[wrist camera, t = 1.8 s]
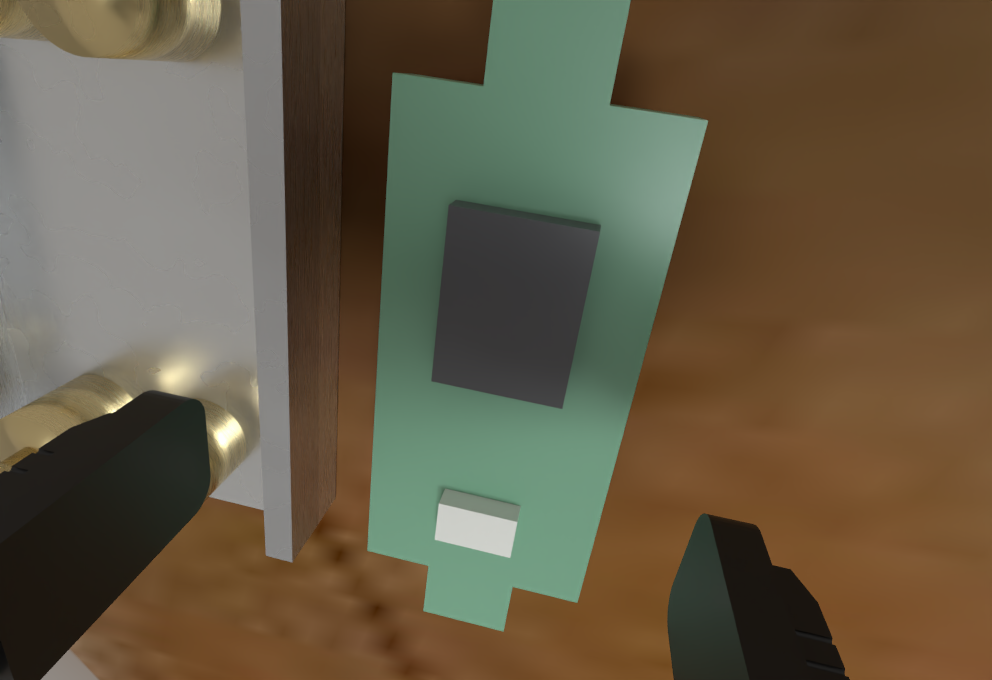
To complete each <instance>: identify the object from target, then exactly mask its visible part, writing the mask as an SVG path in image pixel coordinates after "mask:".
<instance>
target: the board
mask: <svg viewBox="0 0 992 680" xmlns="http://www.w3.org/2000/svg"><path fill="white" fill-rule="evenodd" d="M630 2H631V0H493V6H492V15H491V24H490V33H489V41H488V50H487V59H486V68H485V76H484V84H477V83H471V82H464V81H458V80H451V79H444V78H438V77H431V76H425V75H418V74H410V73H393V76H392V95H391V113H390V132H389V151H388V170H387V189H386V208H385V227H384V246H383V265H382V284H381V303H380V322H379V341H378V360H377V379H376V398H375V417H374V436H373V455H372V474H371V493H370V512H369V531H368V550H367V551H371V552H375V553H379V554H383V555H387V556H391V557H395V558H399V559H403V560H407V561H411V562H415V563H419V564H423V565H427V566H429V567H428V576H427V584H426V593H425V602H424V611H426V612H430V613H433V614H437V615H441V616H445V617H449V618H453V619H457V620H461V621H465V622H468V623H472V624H476V625H480V626H484V627H488V628H492V629H496V630H500V631H504V626H505V621H506V616H507V612H508V607H509V602H510V597H511V592H512V587H516V588H520V589H524V590H528V591H532V592H536V593H540V594H544V595H548V596H552V597H556V598H560V599H564V600H568V601H572V602H576V603H577V602H578V598H579V595H580V591H581V587H582V584H583V580H584V576H585V573H586V569H587V565H588V561H589V558H590V554H591V550H592V547H593V543H594V539H595V536H596V532H597V528H598V525H599V521H600V517H601V514H602V510H603V506H604V503H605V499H606V495H607V492H608V488H609V484H610V481H611V477H612V473H613V469H614V466H615V462H616V458H617V455H618V451H619V447H620V444H621V440H622V436H623V433H624V429H625V425H626V422H627V418H628V414H629V411H630V407H631V403H632V400H633V396H634V392H635V389H636V385H637V381H638V377H639V374H640V370H641V366H642V363H643V359H644V355H645V352H646V348H647V344H648V341H649V337H650V333H651V330H652V326H653V322H654V319H655V315H656V311H657V308H658V304H659V300H660V296H661V293H662V289H663V285H664V282H665V278H666V274H667V271H668V267H669V263H670V260H671V256H672V252H673V249H674V245H675V241H676V238H677V234H678V230H679V227H680V223H681V219H682V216H683V212H684V208H685V204H686V201H687V197H688V193H689V190H690V186H691V182H692V179H693V175H694V171H695V168H696V164H697V160H698V157H699V153H700V149H701V146H702V142H703V138H704V135H705V131H706V127H707V124H708V120H705V119H703V118H700V117H695V116H688V115H682V114H675V113H668V112H662V111H655V110H649V109H642V108H635V107H629V106H622V105H616V104H610V101H611V96H612V91H613V86H614V81H615V76H616V71H617V66H618V61H619V56H620V51H621V46H622V41H623V36H624V31H625V26H626V21H627V16H628V11H629V7H630Z"/></svg>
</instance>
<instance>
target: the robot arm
mask: <svg viewBox="0 0 992 680" xmlns="http://www.w3.org/2000/svg"><path fill="white" fill-rule="evenodd" d="M210 479H211V473H210V461H209V450H208V438H207V427H206V415H205V409H204V406H203V404H202V403H201V402H200V401H199V400H197V399H192V398H188V397H183V396H179V395H174V394H170V393H165V392H161V391H156V390H149V391H146V392H144V393H142V394H140V395H139V396H137V397H136V398H134V399H133V400H131V401H130V402H128V403H127V404H126V405H124V406H123V407H121V408H120V409H118V410H117V411H115V412H114V413H108V414H105V415H102V416H100V417H97V418H95V419H92V420H89V421H87V422H84V423H81V424H79V425H76V426H74V427H71V428H69V429H68V430H66V431H65V432H63V433H62V434H60V435H59V436H57V437H55V438H54V439H52V440H51V441H49V442H48V443H46V444H45V445H43V446H42V447H40V448H39V450H38V452H37V453H36V454H35V453H31V454H29V455H28V456H26V457H25V458H23V459H22V460H20V461H19V462H17V463H16V464H14V465H13V466H12V468H11V470H10V471H9V472H7V471H3V472H2V473H0V680H41V679H42V677H43V676H44V675H45V674H46V673H47V672H48V671H49V670H50V669H51V668H52V667H53V666H54V665H55V664H56V662H57V661H58V660H59V659H60V658H61V657H62V656H63V655H64V654H65V653H66V652H67V651H68V650H69V649H70V648H71V647H72V645H73V644H74V643H75V642H76V641H77V640H78V639H79V638H80V637H81V636H82V635H83V634H84V633H85V632H86V631H87V629H88V628H89V627H90V626H91V625H92V624H93V623H94V622H95V621H96V620H97V619H98V618H99V617H100V616H101V615H102V613H103V612H104V611H105V610H106V609H107V608H108V607H109V606H110V605H111V604H112V603H113V602H114V601H115V600H116V599H117V597H118V596H119V595H120V594H121V593H122V592H123V591H124V590H125V589H126V588H127V587H128V586H129V585H130V584H131V583H132V581H133V580H134V579H135V578H136V577H137V576H138V575H139V574H140V573H141V572H142V571H143V570H144V569H145V568H146V567H147V565H148V564H149V563H150V562H151V561H152V560H153V559H154V558H155V557H156V556H157V555H158V554H159V553H160V552H161V551H162V549H163V548H164V547H165V546H166V545H167V544H168V543H169V542H170V541H171V540H172V539H173V538H174V537H175V536H176V535H177V533H178V532H179V531H180V530H181V529H182V528H183V527H184V526H185V525H186V524H187V523H188V522H189V521H190V520H191V519H192V517H193V516H194V515H195V514H196V513H197V512H198V510H199V509H200V507H201V506H202V504H203V502H204V500H205V498H206V496H207V493H208V490H209V486H210ZM668 635H669V643H670V651H671V660H672V668H673V676H674V680H850V679H849V677H846V676H845V674H844V671H845V667H844V665H843V663H842V660H841V658H840V655H839V653H838V650H837V648H836V646H835V645H832V636H831V633H830V631H829V629H828V626H827V624H826V621H825V619H824V616H823V614H822V612H821V609H820V607H819V604H818V602H817V601H816V600H815V599H814V597H813V596H812V595H811V594H810V592H809V591H808V590H807V589H806V588H805V586H804V585H803V584H802V583H801V582H800V580H799V579H798V578H797V577H796V575H795V574H794V573H793V572H792V571H791V569H787V568H782V567H778V566H773V565H772V563H771V560H770V557H769V555H768V552H767V549H766V546H765V543H764V540H763V537H762V535H761V532H760V530H759V528H758V527H757V526H756V525H754V524H750V523H745V522H741V521H736V520H732V519H727V518H723V517H718V516H714V515H709V514H702V515H701V516H700V517H699V518H698V520H697V522H696V524H695V527H694V530H693V532H692V535H691V538H690V540H689V543H688V546H687V548H686V551H685V554H684V556H683V559H682V561H681V564H680V567H679V569H678V572H677V575H676V577H675V580H674V583H673V586H672V589H671V593H670V598H669V605H668Z"/></svg>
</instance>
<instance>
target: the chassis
mask: <svg viewBox="0 0 992 680" xmlns="http://www.w3.org/2000/svg"><path fill="white" fill-rule="evenodd" d="M344 44H345V0H0V473H2V472H3V471H7V472H9V471H10V470H11V468H12V466H13V465H14V464H16V463H17V462H19V461H20V460H22V459H23V458H25V457H26V456H28V455H29V454H31V453H35V454H36V453H37V452H38V450H39V448H40V447H42V446H43V445H45V444H46V443H48V442H49V441H51V440H52V439H54V438H55V437H57V436H59V435H60V434H62V433H63V432H65V431H66V430H68V429H69V428H71V427H74V426H76V425H79V424H81V423H84V422H87V421H89V420H92V419H95V418H97V417H100V416H102V415H105V414H108V413H114V412H115V411H117V410H118V409H120V408H121V407H123V406H124V405H126V404H127V403H128V402H130V401H131V400H133V399H134V398H136V397H137V396H139V395H140V394H142V393H144V392H146V391H149V390H156V391H161V392H165V393H170V394H174V395H179V396H183V397H188V398H192V399H197V400H199V401H200V402H201V403H202V404H203V406H204V409H205V415H206V427H207V438H208V450H209V461H210V473H211V479H210V486H209V490H208V493H207V496H206V498H205V500H206V499H207V498H208V497H212V498H216V499H220V500H224V501H228V502H233V503H237V504H241V505H245V506H249V507H253V508H257V509H261V510H264V525H265V547H266V556H269V557H273V558H277V559H281V560H285V561H289V562H293V561H294V559H295V558H296V556H297V555H298V553H299V552H300V550H301V549H302V547H303V546H304V544H305V543H306V541H307V540H308V538H309V537H310V535H311V534H312V532H313V531H314V529H315V528H316V526H317V525H318V523H319V522H320V520H321V519H322V517H323V516H324V514H325V513H326V511H327V510H328V508H329V507H330V506H331V504H332V503H333V501H334V500H335V488H336V438H337V389H338V340H339V290H340V241H341V192H342V142H343V93H344ZM205 500H204V501H205Z"/></svg>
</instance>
